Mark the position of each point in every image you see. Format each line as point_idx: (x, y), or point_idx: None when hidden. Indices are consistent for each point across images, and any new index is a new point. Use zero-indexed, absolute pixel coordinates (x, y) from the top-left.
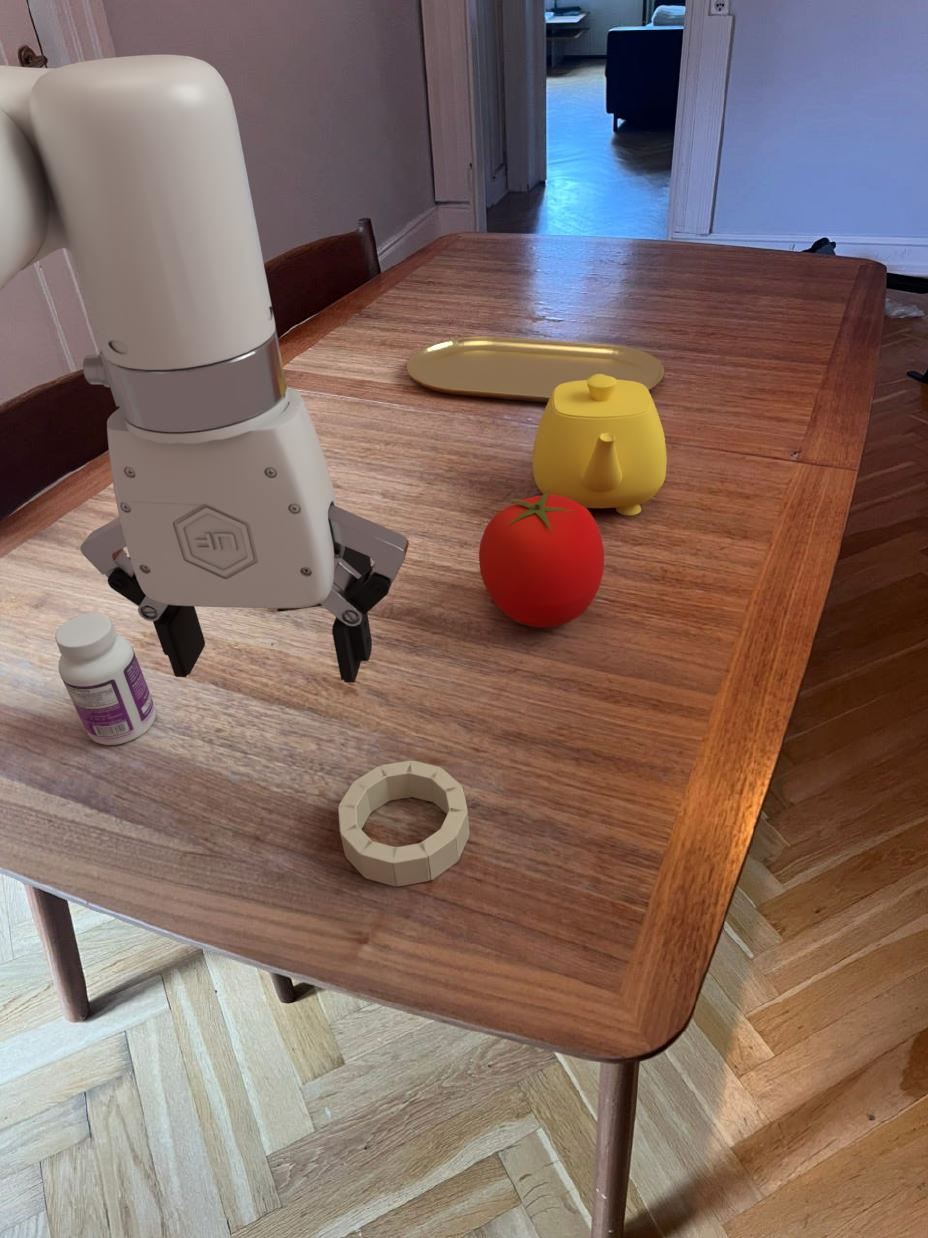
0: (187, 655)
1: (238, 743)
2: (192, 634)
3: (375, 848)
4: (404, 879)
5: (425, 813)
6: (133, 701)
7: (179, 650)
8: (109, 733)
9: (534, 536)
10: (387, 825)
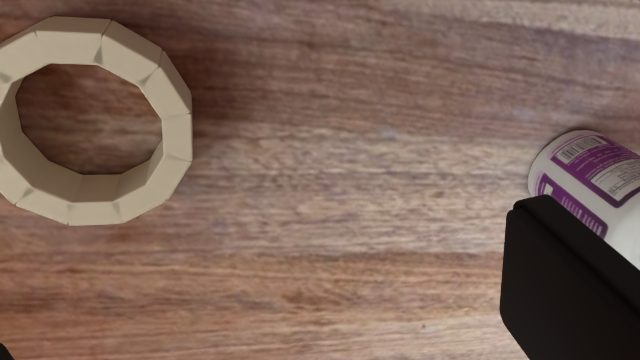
0: (539, 267)
1: (405, 183)
2: (551, 340)
3: (81, 51)
4: (33, 26)
5: (85, 154)
6: (569, 191)
7: (578, 274)
8: (580, 142)
9: None
10: (130, 119)
